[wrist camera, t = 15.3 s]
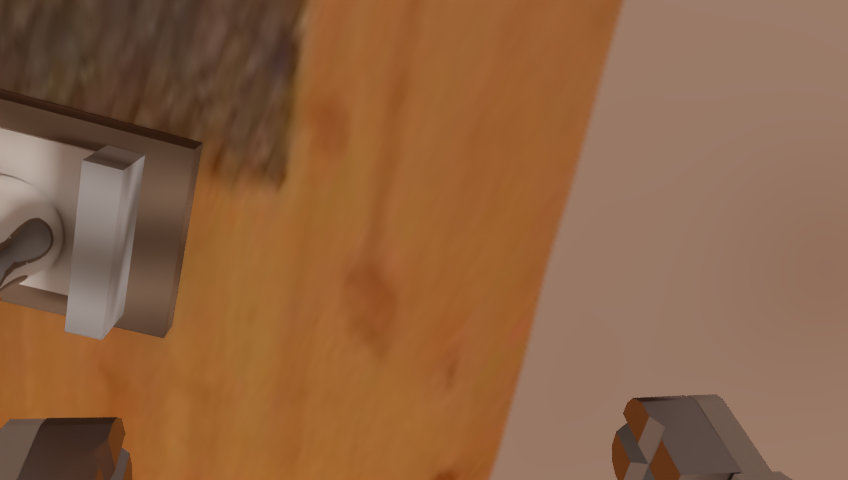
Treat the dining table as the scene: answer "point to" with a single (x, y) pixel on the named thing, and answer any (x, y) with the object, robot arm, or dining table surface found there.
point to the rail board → (153, 211)
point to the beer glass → (26, 233)
